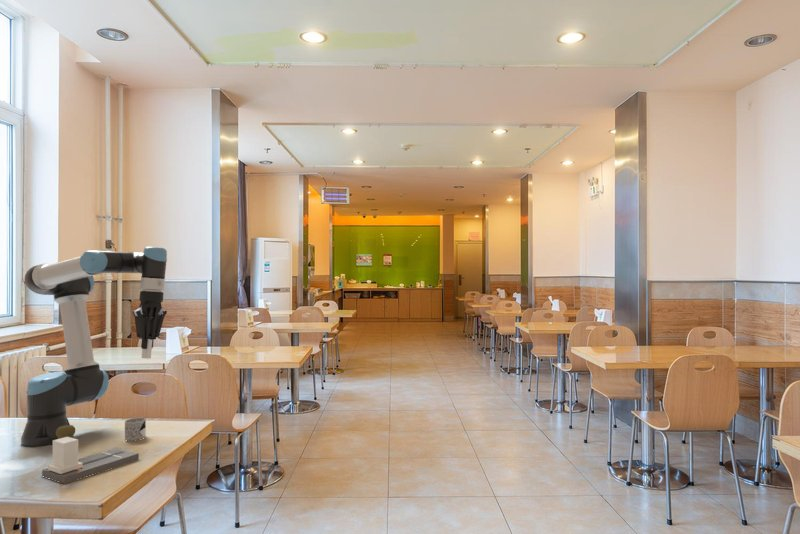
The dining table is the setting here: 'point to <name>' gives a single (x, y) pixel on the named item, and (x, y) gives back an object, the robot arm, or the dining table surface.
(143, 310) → the robot arm
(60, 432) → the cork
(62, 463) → the slider handle
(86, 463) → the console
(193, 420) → the dining table surface
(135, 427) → the mug
